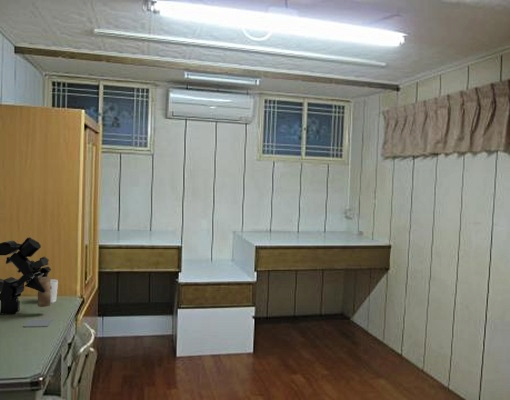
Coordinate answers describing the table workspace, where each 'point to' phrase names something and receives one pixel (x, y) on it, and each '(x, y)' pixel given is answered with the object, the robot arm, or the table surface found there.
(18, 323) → the table surface
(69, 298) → the table surface
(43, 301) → the walnut cylinder
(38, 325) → the slate mat
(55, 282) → the white cup
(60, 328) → the table surface
